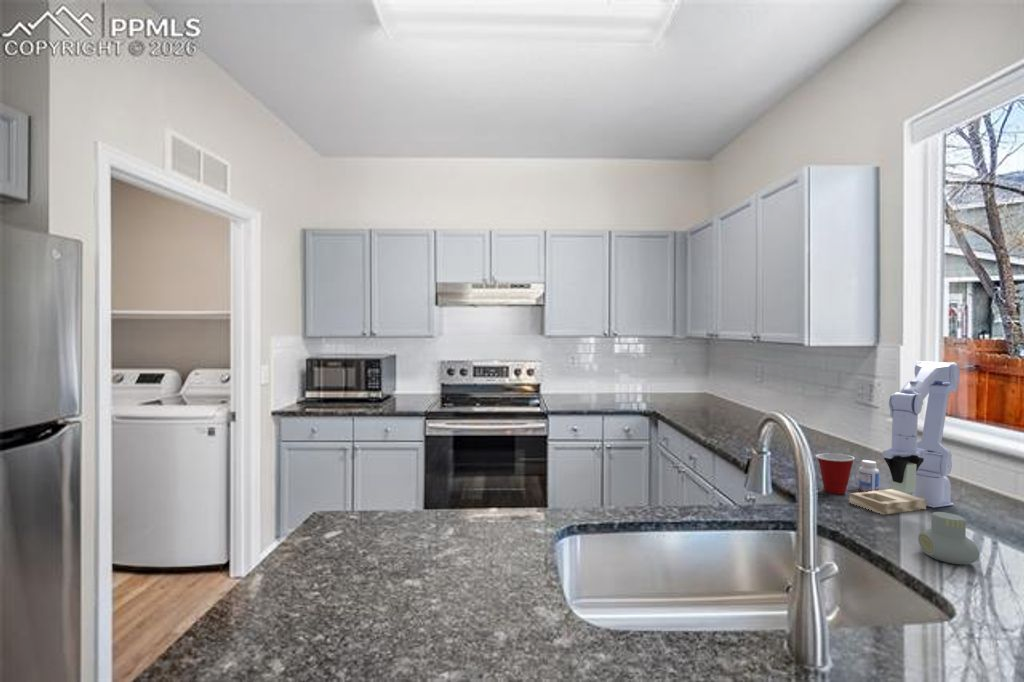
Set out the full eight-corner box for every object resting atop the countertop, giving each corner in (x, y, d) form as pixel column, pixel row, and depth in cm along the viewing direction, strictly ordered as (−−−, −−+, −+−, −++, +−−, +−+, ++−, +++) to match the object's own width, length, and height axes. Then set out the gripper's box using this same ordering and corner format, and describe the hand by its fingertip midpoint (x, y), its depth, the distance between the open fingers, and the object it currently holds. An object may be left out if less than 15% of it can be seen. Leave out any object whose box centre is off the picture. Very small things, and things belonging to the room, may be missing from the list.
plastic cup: (815, 484, 170) (816, 449, 170) (854, 491, 164) (855, 454, 164) (813, 492, 161) (814, 455, 161) (853, 499, 155) (854, 461, 155)
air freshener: (984, 573, 107) (985, 527, 107) (938, 566, 109) (939, 522, 109) (955, 552, 117) (957, 510, 117) (914, 547, 120) (915, 506, 120)
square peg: (900, 487, 145) (901, 460, 145) (915, 491, 141) (916, 464, 141) (891, 488, 144) (892, 461, 144) (905, 493, 140) (906, 464, 140)
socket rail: (891, 498, 157) (891, 489, 157) (926, 509, 147) (926, 499, 147) (849, 503, 151) (849, 493, 151) (882, 514, 142) (883, 504, 142)
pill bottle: (872, 488, 167) (873, 459, 167) (882, 493, 162) (883, 463, 162) (854, 487, 168) (855, 459, 168) (864, 492, 162) (865, 463, 162)
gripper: (901, 438, 136) (900, 487, 137) (937, 436, 141) (935, 483, 141) (875, 433, 143) (874, 480, 143) (910, 431, 148) (908, 476, 148)
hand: (902, 481), depth 143 cm, fingers closed on square peg, 4 cm apart
